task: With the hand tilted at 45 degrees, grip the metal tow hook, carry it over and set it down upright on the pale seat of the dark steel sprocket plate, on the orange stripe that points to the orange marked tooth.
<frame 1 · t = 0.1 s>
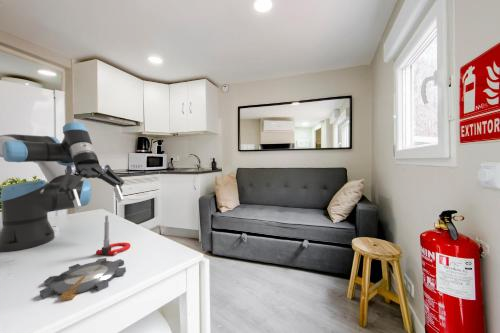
hand: (101, 204, 75), 15 cm above the table, tool tilted 35°, fingers open, 13 cm apart
sprocket plate: (87, 278, 55), on the table
tow hook: (115, 250, 72), on the table
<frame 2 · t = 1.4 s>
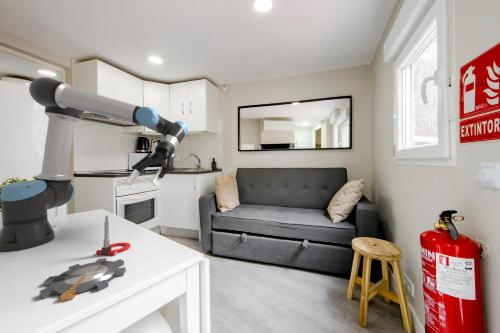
hand: (140, 183, 82), 22 cm above the table, tool tilted 45°, fingers open, 13 cm apart
nothing on the table moved.
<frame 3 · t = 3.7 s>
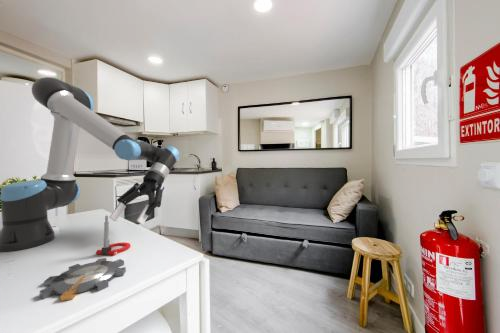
hand: (125, 221, 75), 9 cm above the table, tool tilted 45°, fingers open, 13 cm apart
nothing on the table moved.
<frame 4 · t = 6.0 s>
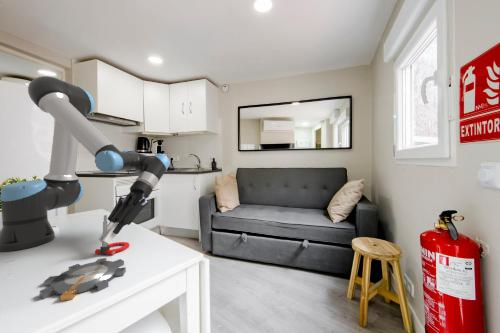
hand: (103, 241, 68), 4 cm above the table, tool tilted 45°, fingers closed on tow hook, 2 cm apart
tow hook: (114, 249, 73), on the table, touching gripper
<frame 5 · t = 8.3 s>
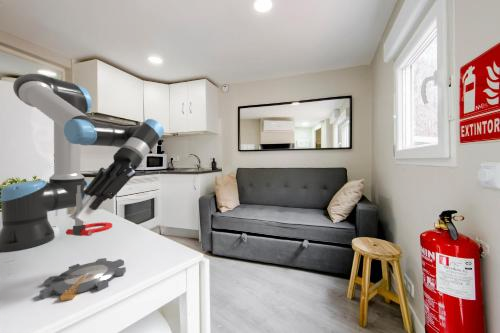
hand: (77, 219, 53), 16 cm above the table, tool tilted 45°, fingers closed on tow hook, 2 cm apart
tow hook: (92, 231, 57), point 12 cm above the table, touching gripper
when the fingers open (7 cm above the table, at t = 10.4 s): tow hook drops 1 cm, resting on sprocket plate.
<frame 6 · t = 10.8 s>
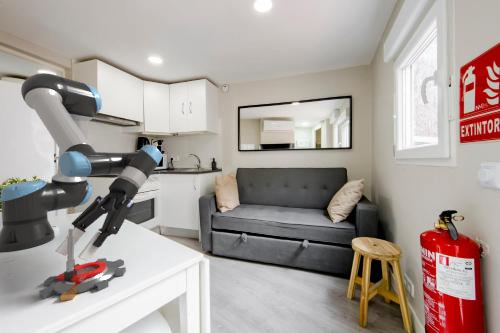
hand: (71, 256, 51), 7 cm above the table, tool tilted 45°, fingers open, 8 cm apart
tow hook: (85, 273, 55), point 1 cm above the table, touching sprocket plate
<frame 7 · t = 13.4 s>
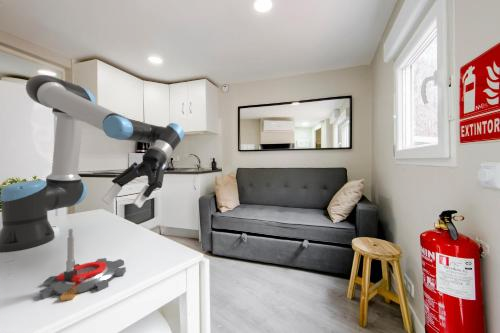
hand: (120, 203, 63), 18 cm above the table, tool tilted 45°, fingers open, 13 cm apart
nothing on the table moved.
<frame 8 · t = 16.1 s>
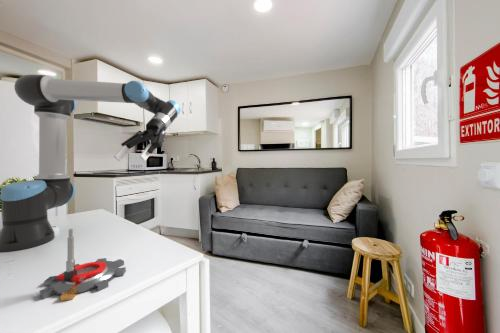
hand: (129, 158, 80), 32 cm above the table, tool tilted 45°, fingers open, 13 cm apart
nothing on the table moved.
at the end: tow hook inside the target area on the sprocket plate (0.8 cm from its centre), point 1.1 cm above the sprocket plate's base; tow hook tilted 1°; the gripper is holding nothing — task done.
